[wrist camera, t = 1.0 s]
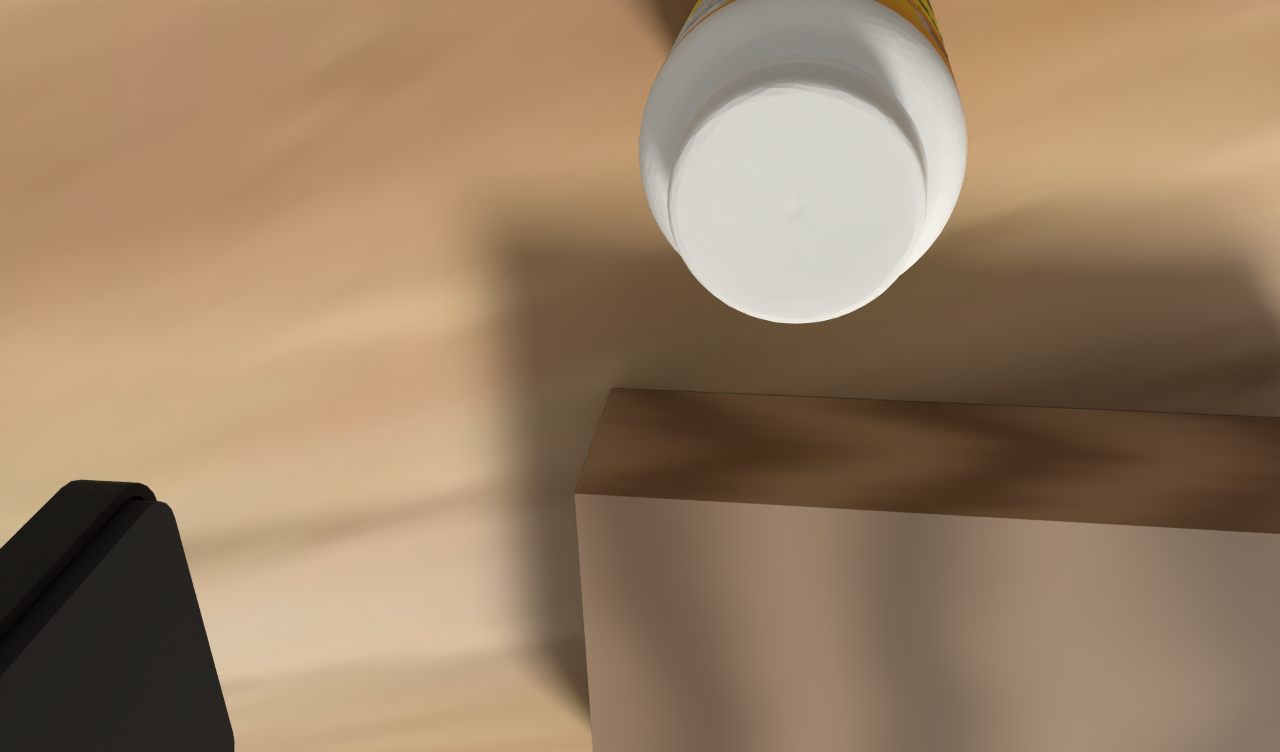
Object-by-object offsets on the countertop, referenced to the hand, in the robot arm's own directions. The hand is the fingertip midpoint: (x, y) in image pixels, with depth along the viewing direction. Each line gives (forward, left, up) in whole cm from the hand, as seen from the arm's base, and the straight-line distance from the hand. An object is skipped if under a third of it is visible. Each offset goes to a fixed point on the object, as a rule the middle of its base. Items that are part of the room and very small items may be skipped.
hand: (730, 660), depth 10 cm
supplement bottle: (0, 0, -20) cm, 20 cm away
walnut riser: (-4, +16, -20) cm, 26 cm away
